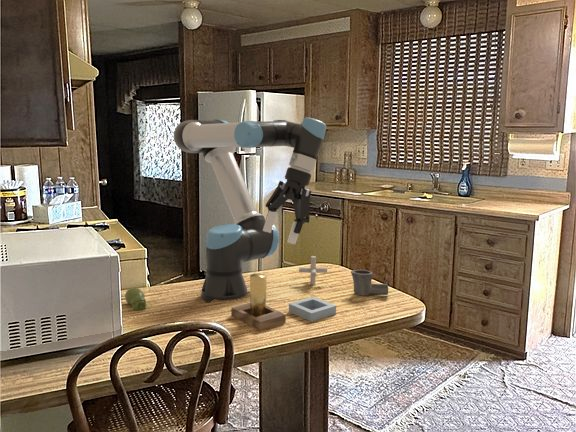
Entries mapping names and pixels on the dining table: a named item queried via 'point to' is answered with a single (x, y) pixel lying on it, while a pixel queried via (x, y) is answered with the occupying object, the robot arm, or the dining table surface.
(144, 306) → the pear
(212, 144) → the robot arm
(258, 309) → the axle
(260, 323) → the brown wooden holder
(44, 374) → the dining table surface
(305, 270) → the pipe connector
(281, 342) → the dining table surface
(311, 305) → the blue-grey square socket
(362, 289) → the pipe
